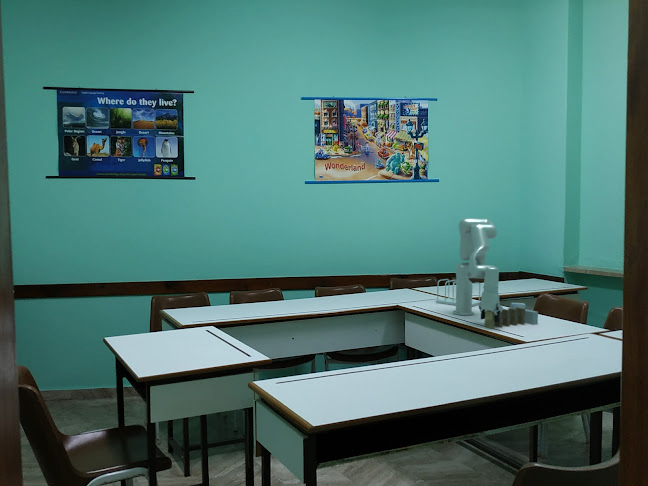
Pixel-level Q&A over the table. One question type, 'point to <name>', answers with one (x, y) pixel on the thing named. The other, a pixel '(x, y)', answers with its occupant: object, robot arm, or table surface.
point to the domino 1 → (489, 319)
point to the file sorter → (450, 300)
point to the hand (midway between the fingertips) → (489, 320)
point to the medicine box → (518, 305)
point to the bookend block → (531, 317)
